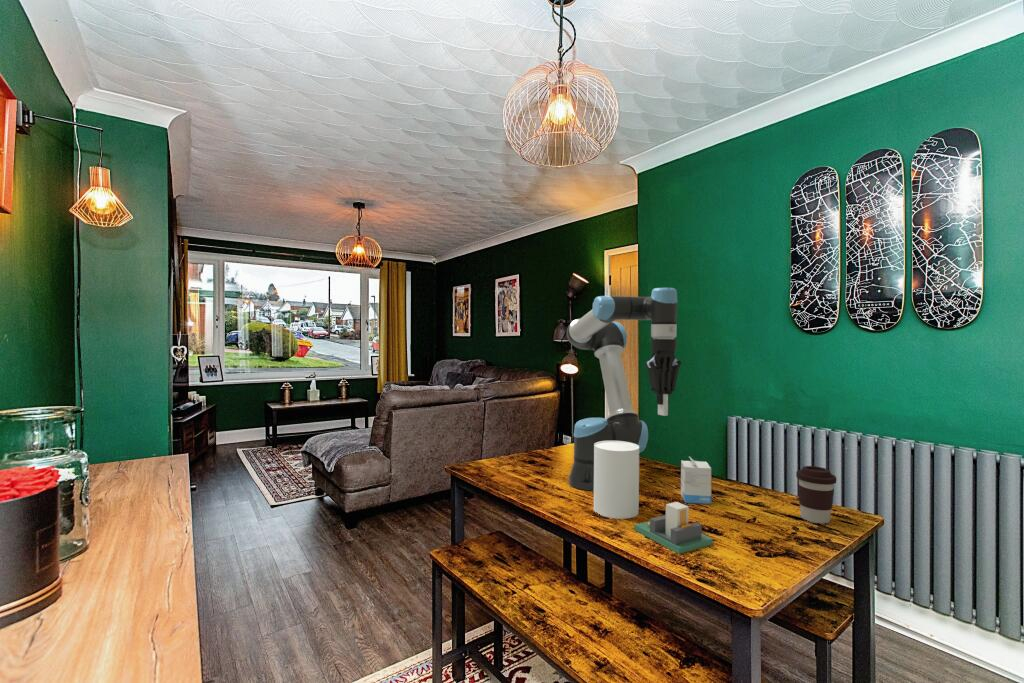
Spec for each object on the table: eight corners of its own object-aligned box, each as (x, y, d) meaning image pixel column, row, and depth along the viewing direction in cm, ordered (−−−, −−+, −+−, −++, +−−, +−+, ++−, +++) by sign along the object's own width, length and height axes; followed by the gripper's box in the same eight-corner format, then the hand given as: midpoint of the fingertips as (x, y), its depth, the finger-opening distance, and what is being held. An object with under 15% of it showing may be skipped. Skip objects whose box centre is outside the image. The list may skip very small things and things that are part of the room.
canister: (584, 507, 149) (585, 443, 148) (616, 499, 156) (617, 438, 155) (614, 522, 137) (615, 453, 137) (648, 513, 144) (648, 447, 144)
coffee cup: (822, 528, 133) (823, 475, 133) (788, 516, 142) (789, 466, 142) (842, 522, 138) (843, 471, 138) (808, 511, 147) (809, 462, 146)
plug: (665, 534, 125) (665, 504, 125) (676, 531, 127) (676, 501, 127) (677, 540, 122) (678, 509, 122) (688, 537, 124) (689, 506, 123)
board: (634, 529, 132) (634, 510, 132) (666, 522, 137) (666, 503, 137) (679, 554, 117) (679, 532, 117) (712, 544, 123) (713, 523, 123)
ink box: (711, 504, 152) (712, 463, 151) (684, 502, 153) (684, 461, 153) (706, 495, 160) (706, 456, 160) (680, 493, 162) (680, 454, 161)
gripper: (656, 338, 140) (655, 418, 140) (688, 338, 146) (687, 415, 146) (638, 338, 146) (638, 414, 147) (670, 338, 152) (669, 411, 153)
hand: (662, 414), depth 146 cm, fingers closed
